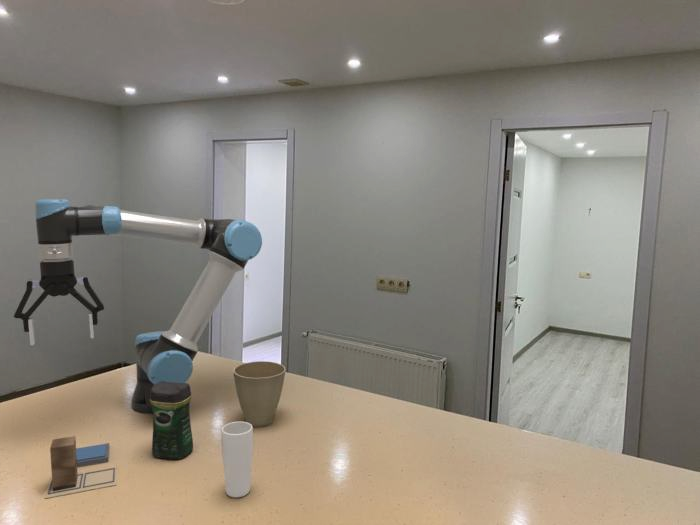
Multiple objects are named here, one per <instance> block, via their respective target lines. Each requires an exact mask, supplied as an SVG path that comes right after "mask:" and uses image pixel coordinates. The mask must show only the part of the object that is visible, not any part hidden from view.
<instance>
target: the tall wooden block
mask: <svg viewBox="0 0 700 525" xmlns="http://www.w3.org/2000/svg"><path fill="white" fill-rule="evenodd" d="M76 439H77V438H76V435H75V436H74V435H73V436H67V437H61V438H60V437H59V438H55V439H52V442H51V444H50V448H49V450H50V468H51V477H52V486H53V491H57V490H63V489H68V488H73V487H76V484H77V478H78V474H77V472H78V467H77V456H76V448H77V442H76Z"/></svg>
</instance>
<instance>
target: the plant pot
mask: <svg viewBox="0 0 700 525" xmlns="http://www.w3.org/2000/svg"><path fill="white" fill-rule="evenodd" d="M232 372H233V373H232V374H233V379H234V386H235V389H236V390H235V391H236V395H237V398H238V402H239V405H240V408H241V411H242V414H243V417H244V419H245V422H247V423H250V424H251V425H252V427H257V428H259V427H260V428H261V427H265V426H268V425H270V424H271V423H272V422H273V420H274V417H275V415H276V413H277V412H276V411H277V409H278V406H279V402H280V399H281V395H282V391H283V386H284V381H285V374H286V367H285V365H283V364H281V363H278V362H274V361H266V360H265V361H264V360H261V361H260V360H258V361H257V360H256V361H250V362H244V363H242V364H239V365H237V366H236V367H234V368H233V370H232Z"/></svg>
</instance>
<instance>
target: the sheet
mask: <svg viewBox="0 0 700 525" xmlns="http://www.w3.org/2000/svg"><path fill="white" fill-rule="evenodd" d="M77 474H78V478H77V484H76V487H73V488H68V489H63V490H57V491H53V486H52V476H51V477H49V481H48V484H47V489H46V491H45V492H46V493H45V497H44V500H47V499H50V498H51V499H52V498H57V497H63V496H67V495H72V494H73V495H74V494H77V493H83V492H84V493H85V492H88V491H89V492H90V491H93V490H94V491H95V490H99V489H104V488H109V487H110V488H111V487H115V486H117V476H118V475H117V474H118V466H117V465H113V466H107V467H102V468H95V469H89V470H84V471H79V472H78V471H77Z"/></svg>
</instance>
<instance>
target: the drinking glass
mask: <svg viewBox="0 0 700 525" xmlns="http://www.w3.org/2000/svg"><path fill="white" fill-rule="evenodd" d="M253 428H254V426H252V425H251V424H250V423H247V422H246V421H232V422H229V423H226V424H225V425H223V426H222V428H221V453H222V454H221V455H222V463H223V473H224V481H225V493H226V494H227V496H229V497H230V498H242V497H244V496H247V495H248V494H249V492H250V490H251V476H252V474H251V472H252V462H253V450H254V432H253V431H254V430H253Z"/></svg>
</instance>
